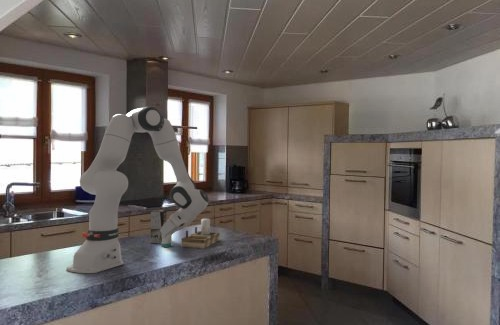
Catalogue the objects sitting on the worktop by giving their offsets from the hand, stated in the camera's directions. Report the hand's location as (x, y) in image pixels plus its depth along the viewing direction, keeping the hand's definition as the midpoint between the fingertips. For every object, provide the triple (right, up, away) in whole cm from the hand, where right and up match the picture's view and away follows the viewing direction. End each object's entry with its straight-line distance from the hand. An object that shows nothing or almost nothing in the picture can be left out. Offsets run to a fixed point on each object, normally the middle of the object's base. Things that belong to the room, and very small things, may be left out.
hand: (165, 236), depth 196 cm
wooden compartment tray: (+17, -5, +7) cm, 19 cm away
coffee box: (-6, -5, +12) cm, 14 cm away
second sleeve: (+18, -2, +12) cm, 22 cm away
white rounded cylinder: (+1, -5, 0) cm, 5 cm away
